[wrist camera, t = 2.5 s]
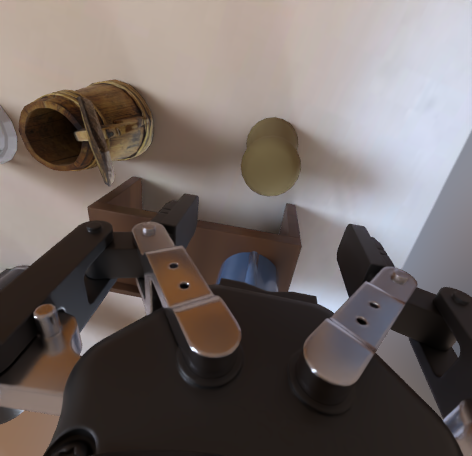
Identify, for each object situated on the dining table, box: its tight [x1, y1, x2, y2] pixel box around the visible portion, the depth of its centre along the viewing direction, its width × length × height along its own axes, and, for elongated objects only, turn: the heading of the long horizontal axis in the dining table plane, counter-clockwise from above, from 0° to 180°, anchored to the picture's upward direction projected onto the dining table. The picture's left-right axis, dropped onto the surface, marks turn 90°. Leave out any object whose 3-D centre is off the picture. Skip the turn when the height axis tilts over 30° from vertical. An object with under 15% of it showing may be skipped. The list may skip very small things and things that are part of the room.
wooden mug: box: [19, 80, 153, 186], centre depth 25 cm, size 9×14×18 cm, turn 94°
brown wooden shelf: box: [88, 177, 302, 297], centre depth 33 cm, size 22×10×11 cm, turn 83°
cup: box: [216, 251, 279, 292], centre depth 25 cm, size 6×8×9 cm
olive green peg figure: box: [241, 117, 301, 196], centre depth 27 cm, size 6×6×11 cm
